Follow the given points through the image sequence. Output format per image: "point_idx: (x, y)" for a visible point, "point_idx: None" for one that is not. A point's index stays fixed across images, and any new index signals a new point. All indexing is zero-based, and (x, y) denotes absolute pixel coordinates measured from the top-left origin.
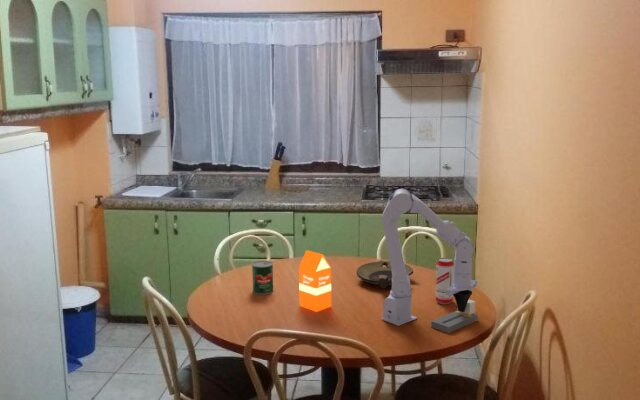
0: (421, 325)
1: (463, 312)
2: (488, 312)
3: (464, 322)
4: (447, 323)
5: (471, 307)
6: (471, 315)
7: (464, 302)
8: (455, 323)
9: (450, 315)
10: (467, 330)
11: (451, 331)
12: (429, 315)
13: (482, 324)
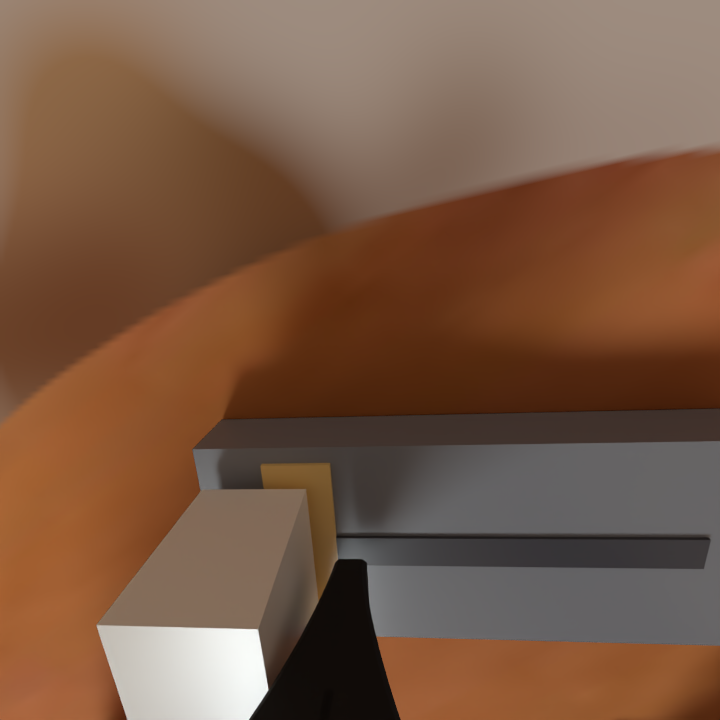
0: (704, 651)
1: (312, 564)
2: (2, 463)
3: (452, 432)
4: (685, 512)
5: (241, 554)
6: (279, 475)
7: (375, 709)
8: (624, 455)
9: (448, 608)
10: (520, 327)
11: (676, 410)
12: (461, 711)
13: (265, 324)
